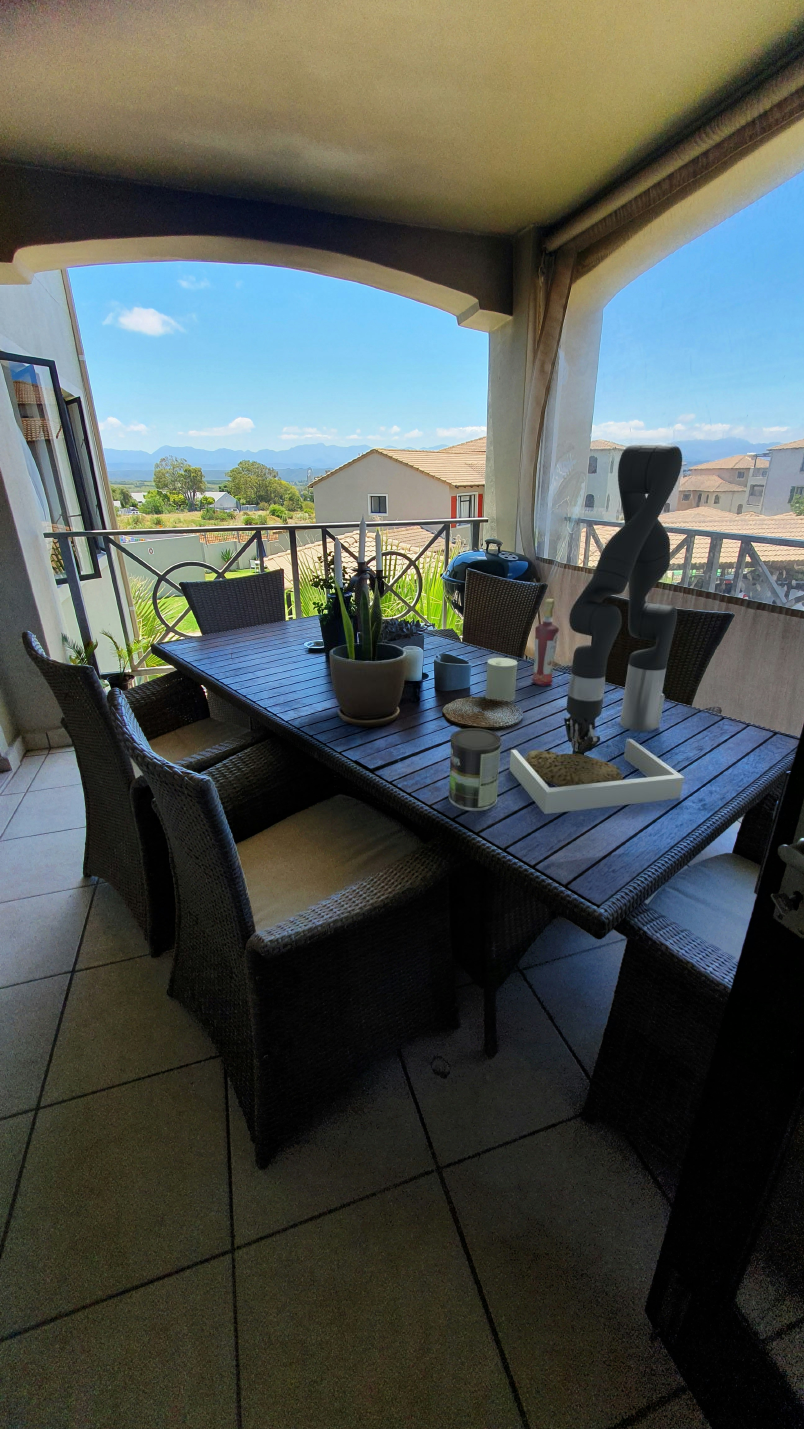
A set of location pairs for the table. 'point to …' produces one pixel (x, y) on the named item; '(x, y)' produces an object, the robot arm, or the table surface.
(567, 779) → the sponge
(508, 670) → the pillar candle
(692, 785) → the table surface
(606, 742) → the table surface
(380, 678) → the potted plant
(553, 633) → the liquor
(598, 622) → the robot arm
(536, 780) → the box
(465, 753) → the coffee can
